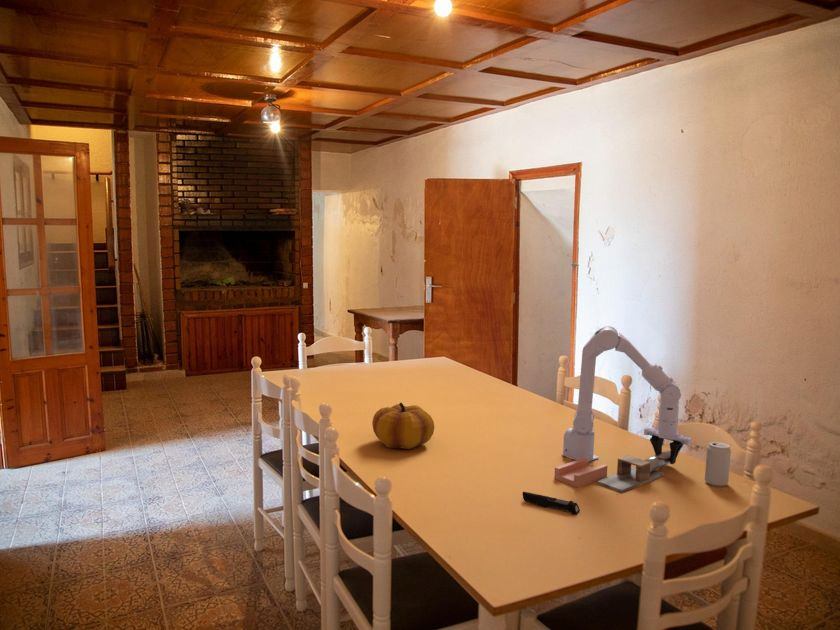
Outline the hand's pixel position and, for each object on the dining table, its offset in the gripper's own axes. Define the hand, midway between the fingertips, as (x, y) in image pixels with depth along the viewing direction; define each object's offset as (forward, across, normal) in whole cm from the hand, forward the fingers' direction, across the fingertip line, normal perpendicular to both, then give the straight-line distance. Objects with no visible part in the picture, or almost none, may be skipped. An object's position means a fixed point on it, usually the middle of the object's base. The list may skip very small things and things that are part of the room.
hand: (665, 461), depth 205 cm
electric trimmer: (+2, -6, -53) cm, 54 cm away
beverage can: (+2, +17, -2) cm, 17 cm away
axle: (-1, 0, -6) cm, 6 cm away
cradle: (+2, -13, -29) cm, 32 cm away
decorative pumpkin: (+2, -72, -48) cm, 86 cm away
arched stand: (+2, -2, -18) cm, 18 cm away
